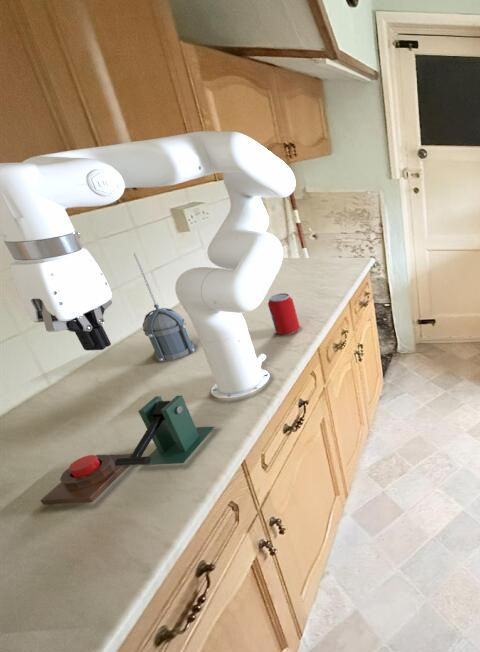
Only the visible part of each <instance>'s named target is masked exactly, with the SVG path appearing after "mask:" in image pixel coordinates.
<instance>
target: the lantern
mask: <svg viewBox="0 0 480 652" xmlns="http://www.w3.org/2000/svg"><path fill="white" fill-rule="evenodd" d="M133 256H134V259H135V261H136V263H137V265H138V268H139V270H140V273H141V275H142V278H143V280H144V283H145V284H146V287H147V290H148V291H149V294H150V296H151V299H152V302H153V307H154V308H155V309H153V310H150V311H149V312H148V313H147V314H145V316H144V319H143V322H142V328H143V329H142V331H143V332H144V335H145V336H146V337H148V339H149V341H150V343H151V345H152V348H153V350H154V351H153V355H154V358H155V359H156V360H157V361H159V362H161V363H162V362H163V363H164V362H167V361H172V360H176V359H180V358H182V357H186V356H187V355H189V354H192V353H194V352H195V350H196V349H195V348H196V345H194V341H192V340H190V339H191V338H190V336H189V334H188V332H187V328H186V324H187V323H186V322H185V319H184V318H183V316H182V315H181V314H179V313H178V312H176V311H175V310H173V309H172V308H168V307H161V308H159V307H160V306H159V304H158V303H157V302H156V300H155V297H154V295H153V292H152V290H151V288H150V286H149V283H148V281H147V279H146V275H145V273H144V271H143V268H142V265H141V264H140V261H139V259H138V256H137V253H134V254H133Z"/></svg>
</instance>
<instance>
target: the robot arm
mask: <svg viewBox="0 0 480 652" xmlns="http://www.w3.org/2000/svg"><path fill="white" fill-rule="evenodd" d="M220 173H222V181H223V184H224V186H225V189H226V192H227V195H228V198H229V202H230V209H229V211H228V214H226V215H227V216H226V217H225V219H224V220H223V222H222V224H221V225H220V227H219V228H218V230H217V231H216V233H215V235H214V236H213V237H212V239H211V241H210V242H209V245H208V246H207V252H206V253H207V258H208V260H209V261H210V262H211V263H212V264H213V265H214V266H217V267H210V266H208V267H207V266H201V267H200V266H198V267H193V268H190V269H187V270H185V271H184V272H182V273H180V275H179V276H178V278H177V279H176V282H175V288H174V289H175V294H176V298H177V300H178V302H179V303H180V305H181V306H182V308H183V310H184V311H185V312H186V314H187V315H188V317H189V319H190V320H191V323H192V325H193V327H194V329H195V332H196V335H197V337H198V340H199V342H200V345H201V347H202V350H203V353H204V355H205V358H206V361H207V363H208V366H209V368H210V372H211V373H212V377H213V380H214V381H215V383H214V384H213V386H212V387H211V389H210V394H211V395H212V396H213V397H215V398H217V399H235V398H239V397H243V396H246V395H249V394H251V393H253V392H255V391H257V390H259V389H260V388H262V387H263V386H264V385H265V384H267V382H268V381H269V379H270V376H271V375H270V373H269V371H268V370H266V369H263V368H262V364H263V362H264V361H265V360H266V359H267V355H266V354H264V353H259V354H258V355H257V354H256V351H255V347H254V344H253V341H252V339H251V335H250V333H249V329H248V324H247V322H246V319H245V317H244V316H243V314H247V313H251V312H252V311H254V310H256V309H257V308H258V307H259V306H260V305H261V304H262V302H263V301H264V299H265V298H266V295H267V294H268V292H269V290H270V288H271V286H272V284H273V282H274V281H275V279H276V277H277V275H278V273H279V271H280V269H281V266H282V264H283V260H284V248H283V245H282V242H281V241H280V239H279V238H277V236H275V235H274V234H272V233H269V232H267V231H268V228H269V225H270V215H269V214H268V211H267V209H266V207H265V205H264V203H263V200H262V198H271V199H272V198H273V199H282V198H287V197H290V196H291V195H292V194H293V193H294V191H295V190H296V187H297V186H296V185H297V181H296V180H297V179H296V176H295V174H294V172H293V170H292V168H291V167H290V166H289V165H288V164H286V162H284V161H283V160H282V159H281V158H279V157H278V156H277V155H275V154H274V153H273V152H271V151H270V150H268V149H267V148H266V147H265V146H263V145H262V144H260V143H259V142H257V141H256V140H254V139H253V138H251V137H249V136H248V135H246V134H244V133H241V132H238V131H225V130H224V131H223V130H222V131H221V130H220V131H219V130H201V131H193V132H188V133H187V132H186V133H182V134H176V135H170V136H163V137H156V138H151V139H144V140H136V141H128V142H122V143H116V144H110V145H103V146H95V147H86V148H79V149H78V148H77V149H72V150H65V151H64V150H63V151H58V152H53V153H47V154H40V155H36V156H35V155H34V156H31V157H29V158H26V159H24V160H23V161H21V162H0V237H1V239H2V240H3V242H4V245H5V246H6V248H7V250H8V251H9V253H10V255H11V257H12V258H13V260H14V261H13V262H11V263H9V268H10V272H11V278H12V281H13V283H14V287H15V289H16V292H17V294H18V296H19V299H20V302H21V304H22V306H23V308H24V310H25V311H26V313H27V315H28V316H29V318H30V319H31V321H32V322H34V323H44V327H45V331H46V332H48V333H49V332H50V333H52V332H53V333H54V332H55V333H56V332H61V331H65V330H66V331H69V332H70V333H75V335H76V337H77V339H78V341H79V343H80V345H81V346H82V348H83V350H84V351H103V350H105V349H106V348H107V347H110V346H111V345H112V343H111V340H110V339H109V337H108V334H107V333H106V331H105V329H104V327H103V325H104V324H105V318H104V314H105V311H106V310H107V309H109V308H110V307H111V306H112V304H113V301H112V298H113V293H112V290H111V286H110V284H109V283H108V281H107V278H106V276H105V275H104V273H103V271H102V270H101V268H100V266H99V264H98V263H97V262H96V259H94V257H93V256H92V255H91V253H90V252H89V250H88V249H87V248H85V247H83V244H82V242H81V240H80V239H81V235H80V233H79V232H78V231H76V230H75V228H74V225H73V223H72V222H71V221H72V220H71V219H70V217H69V214H68V213H67V211H66V210H67V209H69V208H71V209H72V208H86V207H89V208H90V207H101V206H106V205H109V204H110V205H111V204H112V203H115V202H116V201H118V200H119V199H120V198H121V197H122V196H123V194H124V192H125V190H126V189H131V188H132V189H133V188H135V189H137V188H161V187H170V186H175V185H178V184H181V183H186V182H188V181H193V180H196V179H199V178H204V177H206V176H207V177H208V176H210V175H214V174H220Z"/></svg>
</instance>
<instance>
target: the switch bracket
mask: <svg viewBox="0 0 480 652" xmlns="http://www.w3.org/2000/svg"><path fill="white" fill-rule="evenodd" d="M158 401H164V400H163V398H162V395H161V396H159V395H157V396H154V397H153V398H151V399H150V401H149V402H147V403H146V404H145V405H144V406H143V407H141V408H140V409H139V410H138V414H139V416H140V418H141V420H142V422H143V424H144V426H145V428H146V430H147V429H148V427H149V426H150V424H151V423H152V421H153V419H154V418H155V417H153V416H152V415H151V412H152V411H153V409H154V408H155V406H156V404H157V403H158ZM169 401H170V402H169V403H168V404H167V405H166V406H165V407H164V408H163V409H162V410H161V412H162V414H163V416H164V418H165V420H163V421H162V423H161V425H160V426H159V428H158V430H157V431H156V433H155V435H154V436H153V438H152V440H151V441H153V444H154V446H155V449H154V450H153V451H152V452H151V453H150V454H149V455H148V456H149V457H151V461H150V463H149V464H144V465H143V466H148V465H149V466H150V465H166V464H167V465H168V464H184V463H185V462H186V461H187V460H188V459H189V458H190V457H191V456H192V455H193V453H194V452H195V451H196V450H197V449H198V448H199V447H200V445H201V444H202V443H203V442H204V441H205V439H206V438H207V437H208V436H209V435H210V433H212V431H213V430H214V429H215V428H216V426H196V425H195V422H194V420H193V418H192V416H191V414H190V411H189V409H188V406H187V404H186V402H185V399H184V397H183V395H175V397H174V398H173V399H171V400H169Z"/></svg>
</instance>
